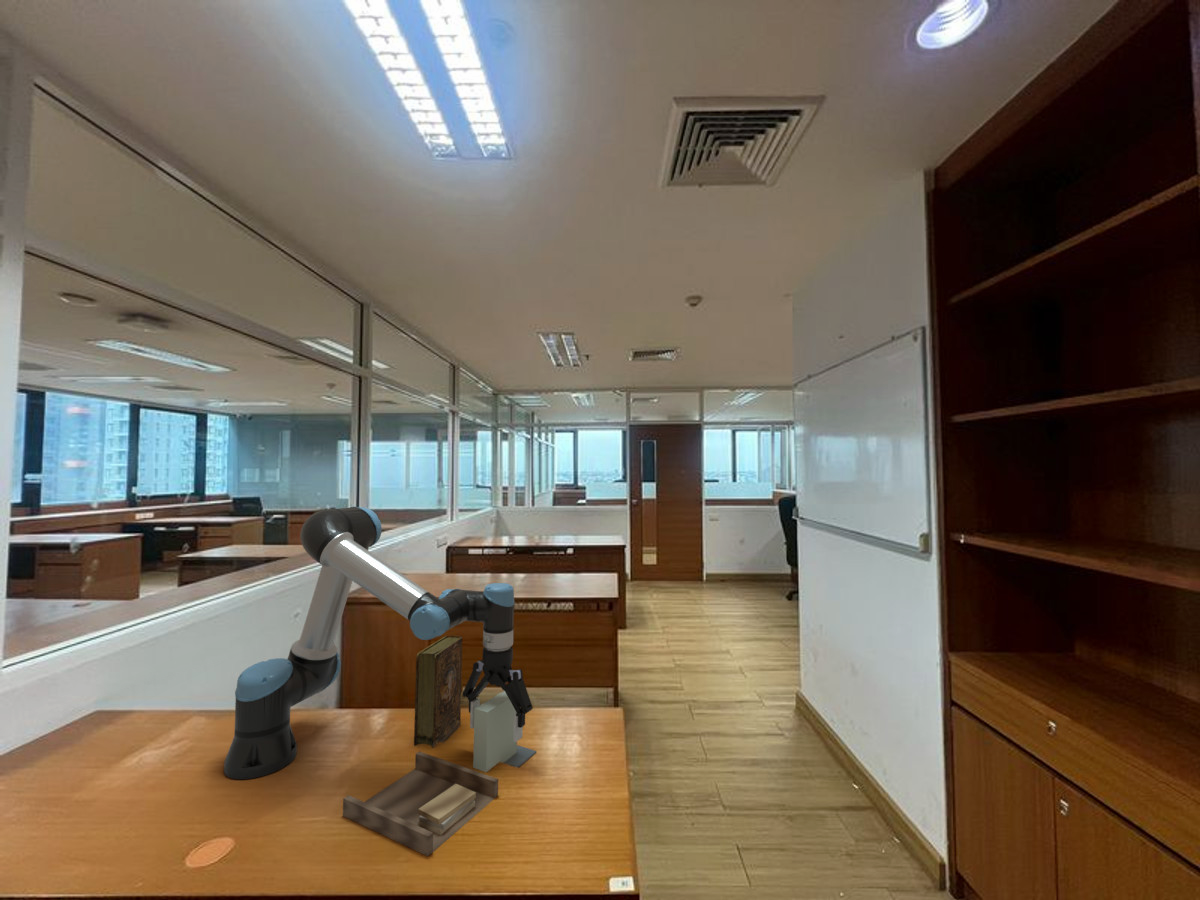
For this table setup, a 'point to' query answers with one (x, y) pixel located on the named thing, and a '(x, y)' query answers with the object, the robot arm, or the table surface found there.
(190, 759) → the table surface
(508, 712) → the upright sage slab
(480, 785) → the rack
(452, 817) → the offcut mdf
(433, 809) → the offcut oak
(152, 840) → the table surface
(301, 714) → the table surface
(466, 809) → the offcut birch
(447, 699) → the book
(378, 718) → the table surface
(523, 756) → the mat
